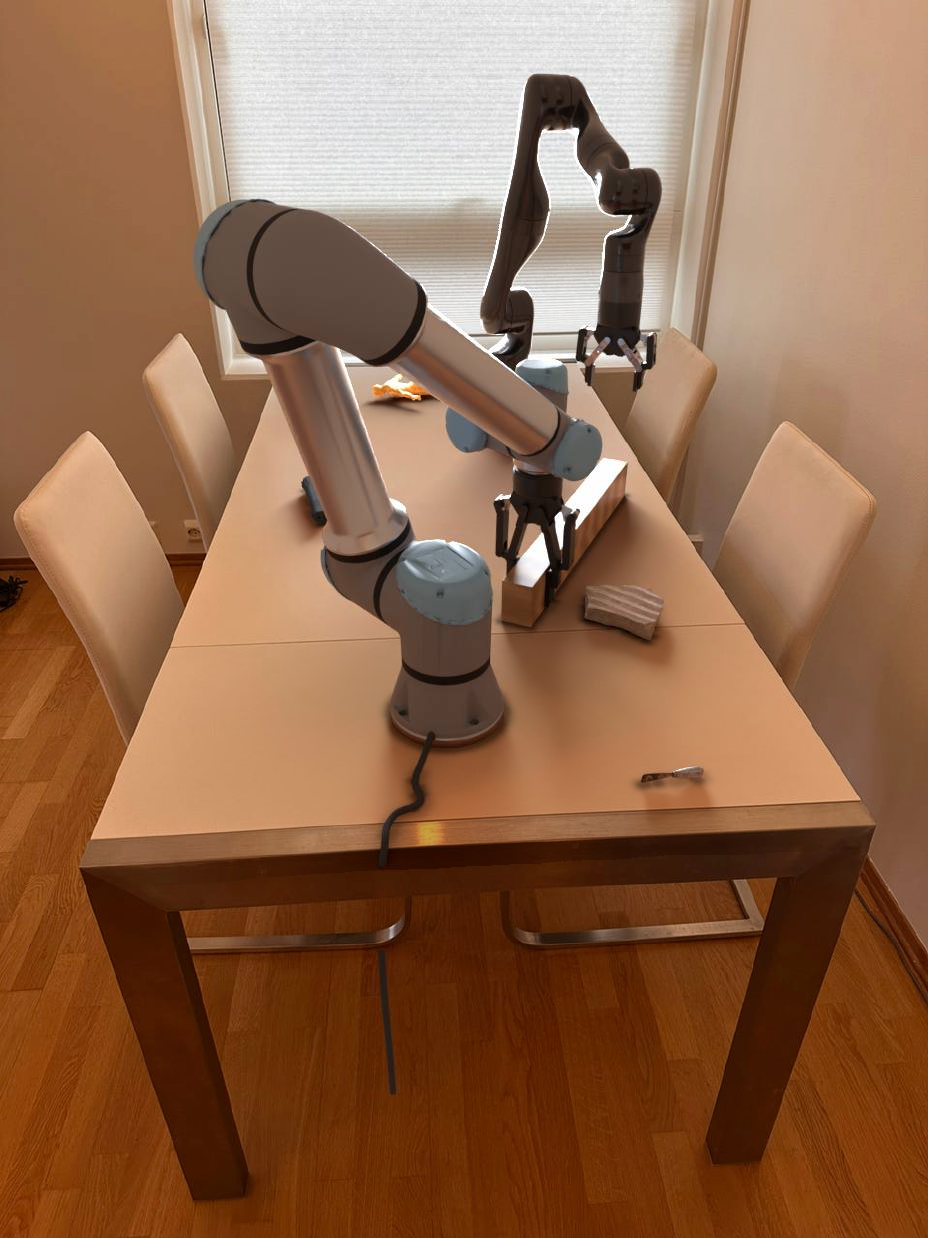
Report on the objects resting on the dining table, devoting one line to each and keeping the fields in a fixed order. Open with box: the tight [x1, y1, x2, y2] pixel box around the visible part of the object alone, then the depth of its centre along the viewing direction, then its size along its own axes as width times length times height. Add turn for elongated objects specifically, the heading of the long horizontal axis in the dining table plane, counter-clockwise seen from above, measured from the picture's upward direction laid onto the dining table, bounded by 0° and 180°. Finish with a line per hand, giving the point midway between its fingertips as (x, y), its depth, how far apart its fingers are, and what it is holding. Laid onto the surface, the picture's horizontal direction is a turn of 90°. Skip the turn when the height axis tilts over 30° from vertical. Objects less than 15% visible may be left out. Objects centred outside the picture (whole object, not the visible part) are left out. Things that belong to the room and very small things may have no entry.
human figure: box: [371, 373, 430, 401], centre depth 236 cm, size 20×20×4 cm
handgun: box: [300, 475, 328, 525], centre depth 177 cm, size 3×18×12 cm
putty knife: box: [640, 765, 705, 784], centre depth 109 cm, size 1×8×2 cm, turn 103°
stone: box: [583, 584, 665, 641], centre depth 141 cm, size 13×12×3 cm
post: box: [500, 457, 629, 628], centre depth 159 cm, size 55×5×7 cm, turn 156°
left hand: (532, 599), depth 145 cm, fingers closed on post, 5 cm apart
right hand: (612, 387), depth 164 cm, fingers open, 8 cm apart
